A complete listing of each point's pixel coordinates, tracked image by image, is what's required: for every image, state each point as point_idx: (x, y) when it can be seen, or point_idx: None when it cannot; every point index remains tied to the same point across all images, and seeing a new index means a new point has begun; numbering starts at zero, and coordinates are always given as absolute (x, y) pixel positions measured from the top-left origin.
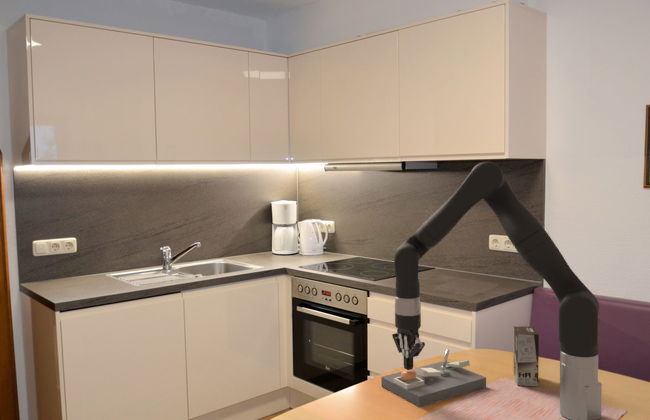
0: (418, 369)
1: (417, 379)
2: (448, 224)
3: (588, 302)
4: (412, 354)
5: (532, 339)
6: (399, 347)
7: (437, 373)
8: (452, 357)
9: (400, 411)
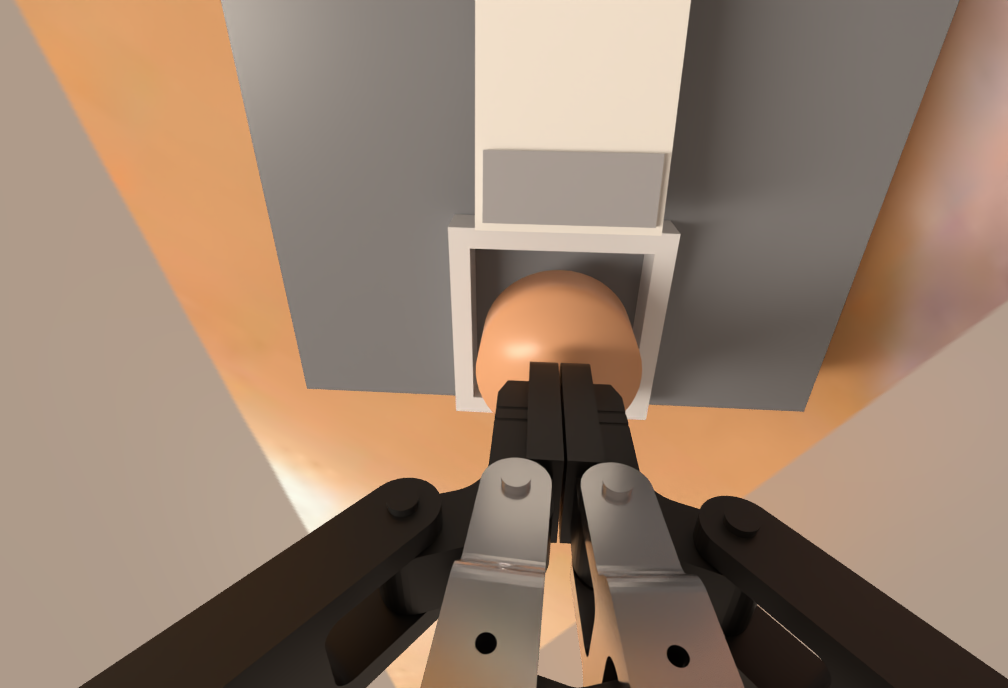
0: (554, 223)
1: (592, 249)
2: None
3: None
4: (768, 654)
5: None
6: (399, 651)
7: None
8: None
9: (719, 475)
